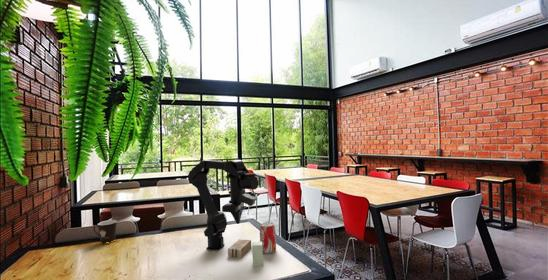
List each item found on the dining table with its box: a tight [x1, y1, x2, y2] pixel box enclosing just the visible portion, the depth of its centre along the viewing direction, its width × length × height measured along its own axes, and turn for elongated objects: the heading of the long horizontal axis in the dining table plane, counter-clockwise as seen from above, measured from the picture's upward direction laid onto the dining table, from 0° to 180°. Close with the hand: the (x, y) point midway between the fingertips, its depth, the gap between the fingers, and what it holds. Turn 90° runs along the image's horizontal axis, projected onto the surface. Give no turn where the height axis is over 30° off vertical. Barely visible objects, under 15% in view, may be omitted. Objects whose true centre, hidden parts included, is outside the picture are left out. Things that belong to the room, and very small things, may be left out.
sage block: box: [251, 241, 264, 267], centre depth 114 cm, size 4×4×8 cm
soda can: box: [259, 222, 277, 254], centre depth 126 cm, size 7×7×12 cm
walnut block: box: [227, 239, 252, 259], centre depth 127 cm, size 6×4×12 cm
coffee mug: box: [92, 220, 118, 243], centre depth 150 cm, size 12×9×10 cm
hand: (238, 223), depth 126 cm, fingers closed
